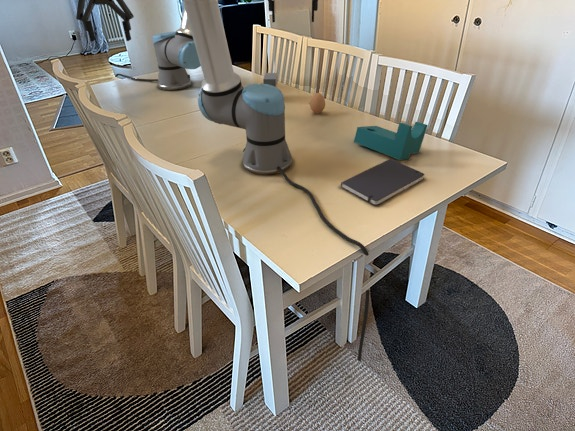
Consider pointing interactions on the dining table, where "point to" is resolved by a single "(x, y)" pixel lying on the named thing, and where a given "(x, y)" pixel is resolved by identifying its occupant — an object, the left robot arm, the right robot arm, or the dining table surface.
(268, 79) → the brick
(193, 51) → the left robot arm
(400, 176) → the notebook
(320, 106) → the egg
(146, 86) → the dining table surface
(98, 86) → the dining table surface
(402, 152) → the teal l-shaped bracket
